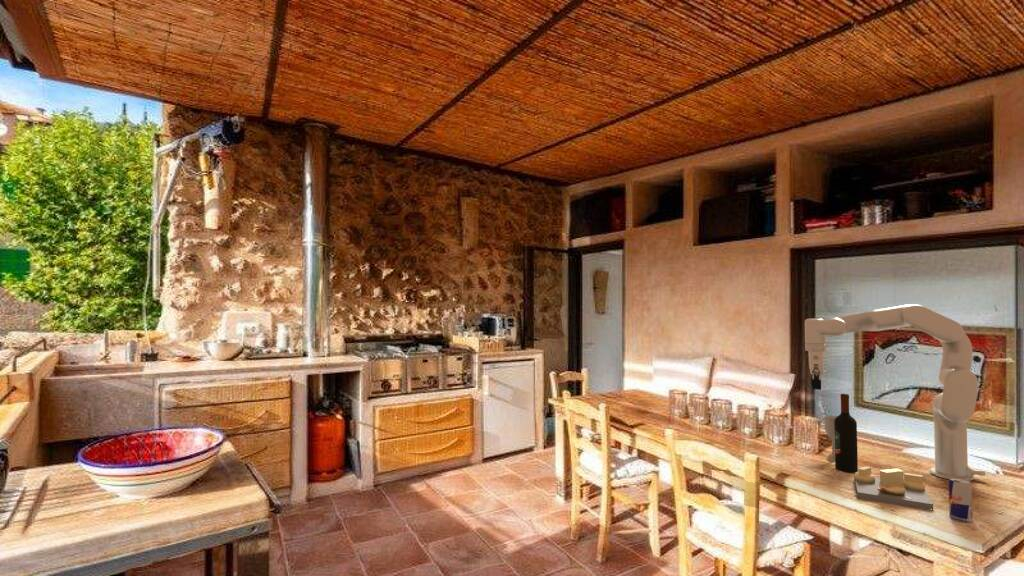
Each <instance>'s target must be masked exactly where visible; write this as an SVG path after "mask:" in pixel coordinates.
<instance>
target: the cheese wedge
mask: <svg viewBox="0 0 1024 576" xmlns="http://www.w3.org/2000/svg"><path fill="white" fill-rule="evenodd" d="M879 478H880V483H879V488H878V491H882V492H885V493H888V494H893V495H904V494H905V487H904V486H903V479H904V471H903V470H901V469H900V468H890V469H888V468H887V469H880V470H879Z"/></svg>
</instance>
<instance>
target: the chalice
mask: <svg viewBox="0 0 1024 576" xmlns="http://www.w3.org/2000/svg"><path fill="white" fill-rule="evenodd" d="M837 416H838V415H823V416H822V418H823V419H824V431H825V433H826V434H827V437H828V438H829V439H831V444H830V445H831V447H830V449H831V453H829V454H828V456H827V458H826V460H828V461H830V462H834V463H835V434H834V420H835V418H836V417H837Z"/></svg>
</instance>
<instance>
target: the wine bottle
mask: <svg viewBox="0 0 1024 576" xmlns="http://www.w3.org/2000/svg"><path fill="white" fill-rule="evenodd" d="M836 416H837V417H836V418H835V420H834V434H835V462H834V465H835V467H834V468H835V470H837V471H838V472H842V473H847V474H855V472H858V468H859V463H858V461H859V460H858V455H859V453H858V423H857V420H856V419H855V418H854V417H853V416H851V415H850V394H848V393H840V414H839V415H836Z"/></svg>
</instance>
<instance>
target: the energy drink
mask: <svg viewBox="0 0 1024 576" xmlns="http://www.w3.org/2000/svg"><path fill="white" fill-rule="evenodd" d="M947 483H948V504H949V505H948V509H949V510H948V511H949V512H948V514H949V517H950V519H952V520H953V519H954V520H953V521H956V522H960V523H963V522H965V523H964V524H970V523H973V520H974V517H973V516H974V515H973V513H974V512H973V491H972V489H973V487H972V486H973V485H972V482H971V481H969V480H966V479H962V478H955V477H951V478H949V479H948V482H947Z"/></svg>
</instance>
